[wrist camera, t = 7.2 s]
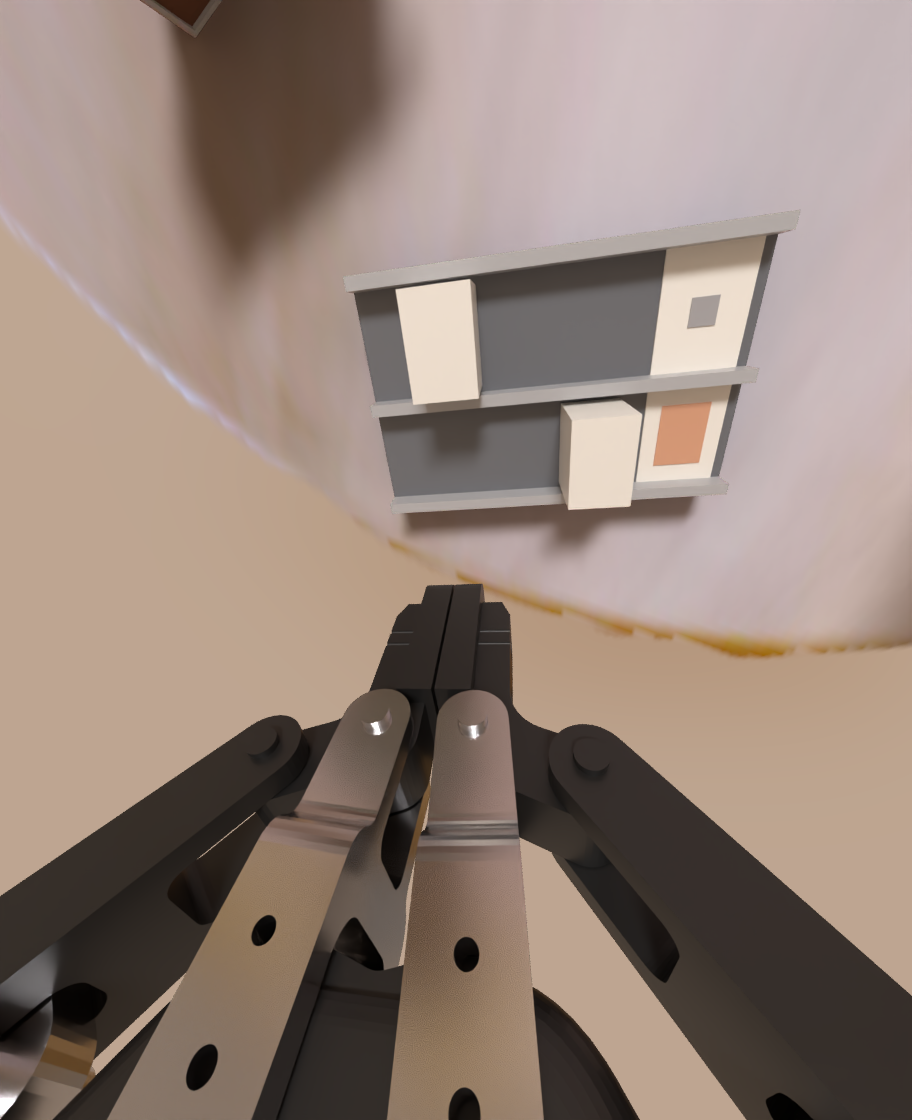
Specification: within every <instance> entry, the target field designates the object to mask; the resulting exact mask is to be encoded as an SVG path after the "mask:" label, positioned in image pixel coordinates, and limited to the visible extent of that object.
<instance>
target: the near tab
mask: <svg viewBox="0 0 912 1120" xmlns="http://www.w3.org/2000/svg"><path fill="white" fill-rule="evenodd" d="M396 296H397V302H398V309H399V315H400V322H401V328H402V335H403V341H404V348H405V354H406V361H407V367H408V374H409V380H410V387H411V393H412V400H413V405H417V404H428V403H438V402H448V401H459V400H469V399H479V396H480V392H481V388H482V372H481V357H480V342H479V327H478V312H477V298H476V285H475V284H474V283H473V282H472V281H471V280H470V279H467V280H460V281H453V282H445V283H438V284H431V285H424V286H416V287H409V288H402V289H396Z"/></svg>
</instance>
